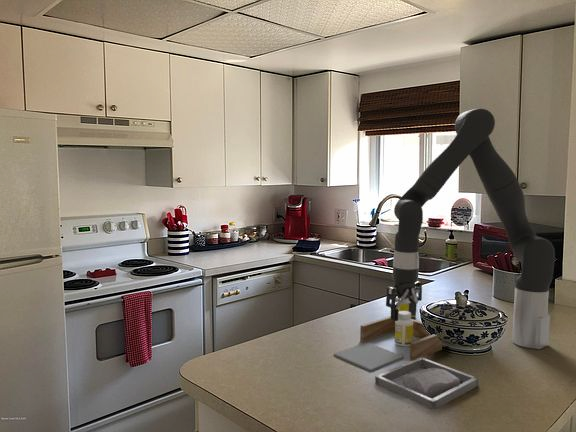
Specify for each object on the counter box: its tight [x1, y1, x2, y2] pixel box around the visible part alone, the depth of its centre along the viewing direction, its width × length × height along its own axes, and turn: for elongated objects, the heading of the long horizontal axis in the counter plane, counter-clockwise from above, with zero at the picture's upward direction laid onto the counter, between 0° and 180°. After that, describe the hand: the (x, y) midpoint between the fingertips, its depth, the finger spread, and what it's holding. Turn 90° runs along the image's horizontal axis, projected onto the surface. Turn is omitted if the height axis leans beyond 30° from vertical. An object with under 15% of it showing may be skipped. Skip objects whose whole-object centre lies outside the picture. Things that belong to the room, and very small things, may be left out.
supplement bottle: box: [394, 311, 414, 348], centre depth 151 cm, size 5×5×10 cm
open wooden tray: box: [359, 315, 443, 362], centre depth 151 cm, size 20×17×5 cm
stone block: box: [402, 368, 461, 399], centre depth 123 cm, size 12×5×10 cm
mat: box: [333, 341, 405, 373], centre depth 142 cm, size 14×14×1 cm
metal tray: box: [374, 357, 479, 411], centre depth 124 cm, size 17×19×2 cm
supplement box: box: [397, 297, 417, 320], centre depth 177 cm, size 6×6×11 cm
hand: (403, 317), depth 151 cm, fingers open, 8 cm apart
